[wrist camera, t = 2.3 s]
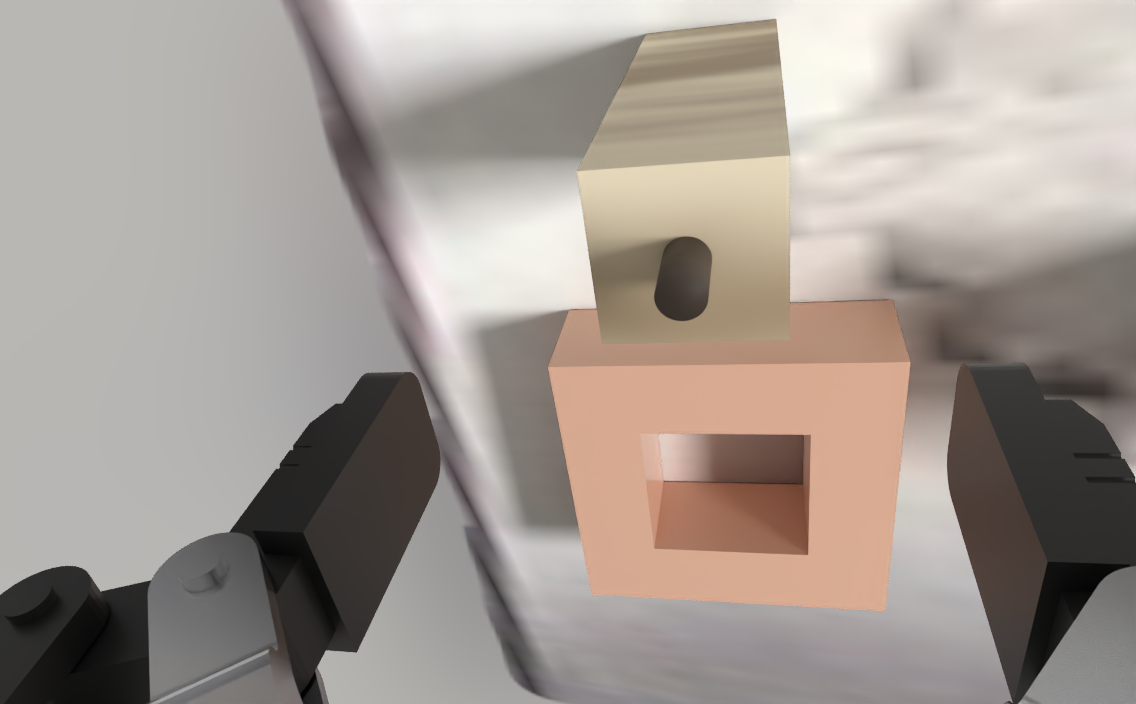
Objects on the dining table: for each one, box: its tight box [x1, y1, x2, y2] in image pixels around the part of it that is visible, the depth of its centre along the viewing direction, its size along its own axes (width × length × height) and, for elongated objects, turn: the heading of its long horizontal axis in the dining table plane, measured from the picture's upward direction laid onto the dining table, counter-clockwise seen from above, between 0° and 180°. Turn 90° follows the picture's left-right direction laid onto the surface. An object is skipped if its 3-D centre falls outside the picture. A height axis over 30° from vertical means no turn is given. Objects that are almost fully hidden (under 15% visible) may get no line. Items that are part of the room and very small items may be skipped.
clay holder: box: [548, 300, 911, 611], centre depth 32 cm, size 12×12×4 cm
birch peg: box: [577, 19, 790, 344], centre depth 20 cm, size 4×4×14 cm
